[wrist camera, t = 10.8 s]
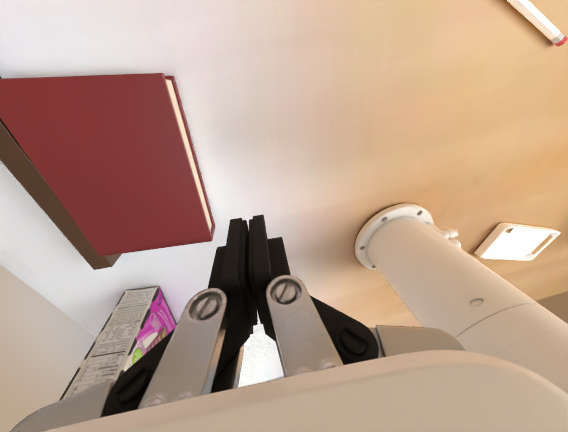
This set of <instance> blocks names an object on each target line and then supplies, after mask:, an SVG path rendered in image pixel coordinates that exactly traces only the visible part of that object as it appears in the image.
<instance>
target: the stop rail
mask: <svg viewBox="0 0 568 432" xmlns="http://www.w3.org/2000/svg"><path fill="white" fill-rule="evenodd" d="M0 79H1V77H0ZM0 160H1V161H2V162H3V164H4V165H5V166H6V167H7V168H8V169H9V171H10V172H11V173H12V174H13V175H14V176H15V178H16V179H17V180H18V181H19V182H20V184H21V185H22V186H23V187H24V188H25V189H26V191H27V192H28V193H29V194H30V195H31V196H32V198H33V199H34V200H35V201H36V202H37V203H38V205H39V206H40V207H41V208H42V209H43V210H44V212H45V213H46V214H47V215H48V216H49V218H50V219H51V220H52V221H53V222H54V223H55V225H56V226H57V227H58V228H59V229H60V230H61V232H62V233H63V234H64V235H65V236H66V237H67V239H68V240H69V241H70V242H71V243H72V245H73V246H74V247H75V248H76V249H77V250H78V252H79V253H80V254H81V255H82V256H83V257H84V259H85V260H86V261H87V262H88V263H89V264H90V266H91V267H92V268H93V269H94V270H96V269H102V268H107V267H112V266H113V265H114V263H115V262H116V261H117V259H118V258H119V257H120V256H121V254H122V253H121V254H114V255H107V256H99V255H98V254H97V252H96V251H95V250H94V248H93V247H92V245H91V244H90V243H89V241H88V240H87V238H86V237H85V236H84V234H83V233H82V231H81V230H80V229H79V227H78V226H77V224H76V223H75V222H74V220H73V219H72V217H71V216H70V215H69V213H68V212H67V210H66V209H65V208H64V206H63V205H62V203H61V202H60V201H59V199H58V198H57V196H56V195H55V194H54V192H53V191H52V189H51V188H50V187H49V185H48V184H47V182H46V181H45V180H44V178H43V177H42V175H41V174H40V173H39V171H38V170H37V168H36V167H35V166H34V164H33V163H32V161H31V160H30V159H29V157H28V156H27V154H26V153H25V152H24V150H23V149H22V147H21V146H20V145H19V143H18V142H17V140H16V139H15V138H14V136H13V135H12V133H11V132H10V131H9V129H8V128H7V126H6V125H5V124H4V122H3V121H2V119H1V118H0Z"/></svg>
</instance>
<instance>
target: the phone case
mask: <svg viewBox="0 0 568 432" xmlns="http://www.w3.org/2000/svg"><path fill="white" fill-rule="evenodd" d="M509 228H513V229H512V230H511V231H510V232H509V233H507V232H505V231H506V230H507V229H509ZM559 234H560V232H559V231H556V230H554V229H552V228H546V227H538V226H529V225H520V224H512V223H500V224H498V226H497V227H496V228H495V229H494V230H493V231H492V232H491V234H490V235H489V236H488V237H487V238H486V239H485V241H484V242H483V243H482V244H481V245H480V246H479V248H478V249H477V250H476V251H475V252H474V253H475V254H476V255H477V256H479V257H480V258H483V259H503V260H523V261H530V260H532V259H534V258H535V257H536V256H537V255H538V254H539V253H540V252H541V251H542V250H543V249H544V248H545V247H546V246H547V245H548V244H550V243H551V242H552V241H553V240H554V239H555V238H556V237H557V236H558V235H559ZM549 235H551V236H553V238H552V239H550V240H549V241H548V242H547V243H546V244H545V245H544V246H543V247H542V248H541V249H540V250H539V251H538V252H537V253H536V254H535V255H533V254H531V252H532V251H533V250H534V249H535V248H536V247H537V246H538V245H539V244H540V243H541V242H542V241H543V240H544V239H545V238H546V237H548V236H549Z"/></svg>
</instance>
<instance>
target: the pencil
mask: <svg viewBox="0 0 568 432" xmlns="http://www.w3.org/2000/svg"><path fill="white" fill-rule="evenodd" d="M507 1H508V2H509V3H510V4H511V5H512V6H513V7H514V8H515V9H517V10H518V11H519V12H520V13H521V14H522V15H523V16H524V17H525V18H526V19H528V20H529V21H530V22H531V23H532V24H533V25H534V26H535V27H536V28H537V29H539V30H540V31H541V32H542V33H543V34H544V35H545V36H546V37H547V38H548V39H549V40H551V41H552V42H553V43H554V44H555V45H556V46H560V45H562V44H564V43H565V42H566V41H567V39H568V38H567V37H566V36H564V35H563V34H562V33H561V32H560V31H559V30H558V29H557V28H556V27H555V26H554V25H553V24H552V23H551V22H550V21H549V20H548V19H547V18H546V17H545V16H544V15H543V14H542V13H541V12H540V11H539V10H538V9H537V8H535V7H534V6H533V5H532V4H531V3H530V2H529V1H528V0H507Z"/></svg>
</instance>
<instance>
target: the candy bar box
mask: <svg viewBox="0 0 568 432" xmlns="http://www.w3.org/2000/svg"><path fill="white" fill-rule="evenodd" d="M176 326H177V324H176V322H175V320H174V318H173V316H172V314H171V311H170V309H169V307H168V305H167V303H166V301H165V298H164V296H163V294H162V292H161V290H160V287H149V288H142V289H133V290H126V291H124V293H123V295H122V297H121V298H120V300H119V302H118V303H117V305H116V306H115V308H114V310H113V311H112V313H111V315H110V317H109V318H108V320H107V321H106V323H105V325H104V327H103V328H102V330H101V332H100V333H99V335H98V336H97V338H96V340H95V341H94V343H93V345H92V347H91V348H90V350H89V352H88V353H87V355H86V356H85V358H84V360H83V361H82V363H81V365H80V367H79V368H78V370H77V371H76V373H75V375H74V377H73V378H72V380H71V382H70V383H69V385H68V387H67V388H66V390H65V392H64V393H63V395H62V397H61V398H60V400H62V399H65V398H67V397H69V396H72V395H74V394H76V393H79V392H81V391H84V390H86V389H88V388H91V387H93V386H95V385H98V384H100V383H102V382H105V381H107V380H109V379H113V380H114V381H115V380H118V378H119V377H120V376H121V375H122V374H123V373H124V372H125V371H126V370H127V369H128V368H130V367H131V366H132V365H133V364H134V363H135V362H136V361H138V360H139V359H140V358H141V357H142V356H143V355H145V354H146V353H147V352H148V351H149V350H150V349H151V348H153V347H154V346H155V345H156V344H157V343H158V342H160V341H161V340H162V339H163V338H164V337H165V336H166V335H168V334H169V333H170V332H171V331H172V330H173V329H174V328H176ZM60 400H59V401H60Z"/></svg>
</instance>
